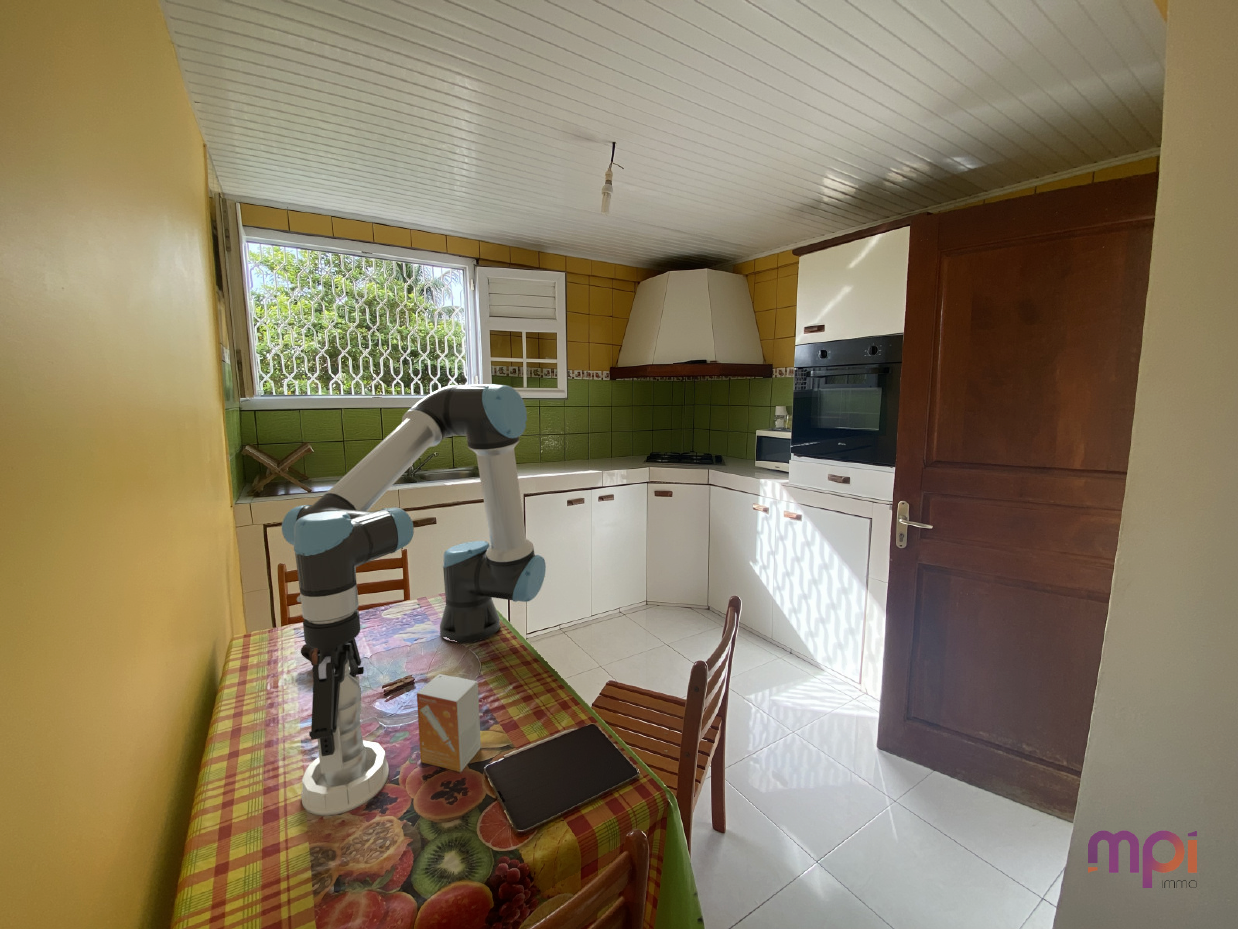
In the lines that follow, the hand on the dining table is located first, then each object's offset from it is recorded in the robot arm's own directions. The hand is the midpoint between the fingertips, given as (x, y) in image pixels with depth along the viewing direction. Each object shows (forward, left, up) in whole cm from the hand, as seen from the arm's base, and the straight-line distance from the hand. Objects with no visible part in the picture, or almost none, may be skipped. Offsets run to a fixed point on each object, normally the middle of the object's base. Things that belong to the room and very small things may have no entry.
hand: (343, 739), depth 81 cm
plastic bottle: (0, 0, -7) cm, 7 cm away
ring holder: (0, 0, -8) cm, 8 cm away
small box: (-16, -2, -8) cm, 18 cm away
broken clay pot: (+12, -39, -8) cm, 42 cm away
